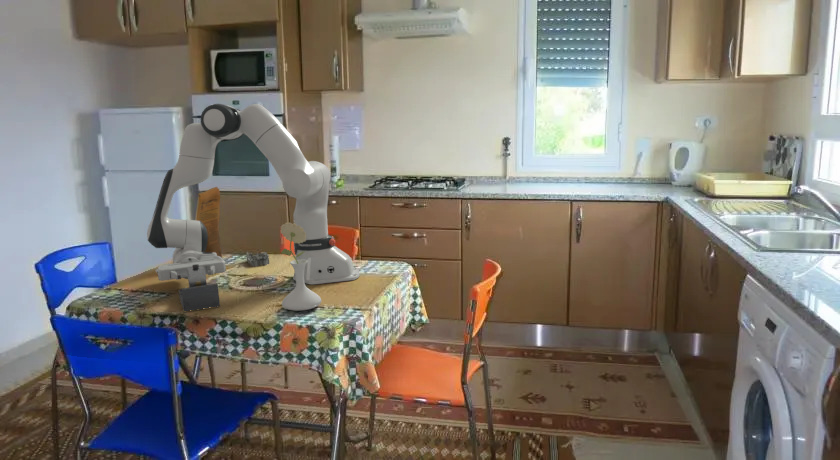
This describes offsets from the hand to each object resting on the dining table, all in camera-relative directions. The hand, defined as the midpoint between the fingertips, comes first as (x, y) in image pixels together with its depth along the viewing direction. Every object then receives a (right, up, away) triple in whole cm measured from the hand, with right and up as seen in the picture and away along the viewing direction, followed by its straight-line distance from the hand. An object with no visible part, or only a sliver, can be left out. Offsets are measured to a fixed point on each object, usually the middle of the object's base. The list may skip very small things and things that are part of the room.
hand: (194, 274), depth 193 cm
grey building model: (+8, +1, +45) cm, 46 cm away
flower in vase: (+34, -9, -9) cm, 37 cm away
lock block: (+3, -8, -3) cm, 9 cm away
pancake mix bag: (-11, +1, +49) cm, 50 cm away
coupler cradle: (+2, -8, -2) cm, 9 cm away
